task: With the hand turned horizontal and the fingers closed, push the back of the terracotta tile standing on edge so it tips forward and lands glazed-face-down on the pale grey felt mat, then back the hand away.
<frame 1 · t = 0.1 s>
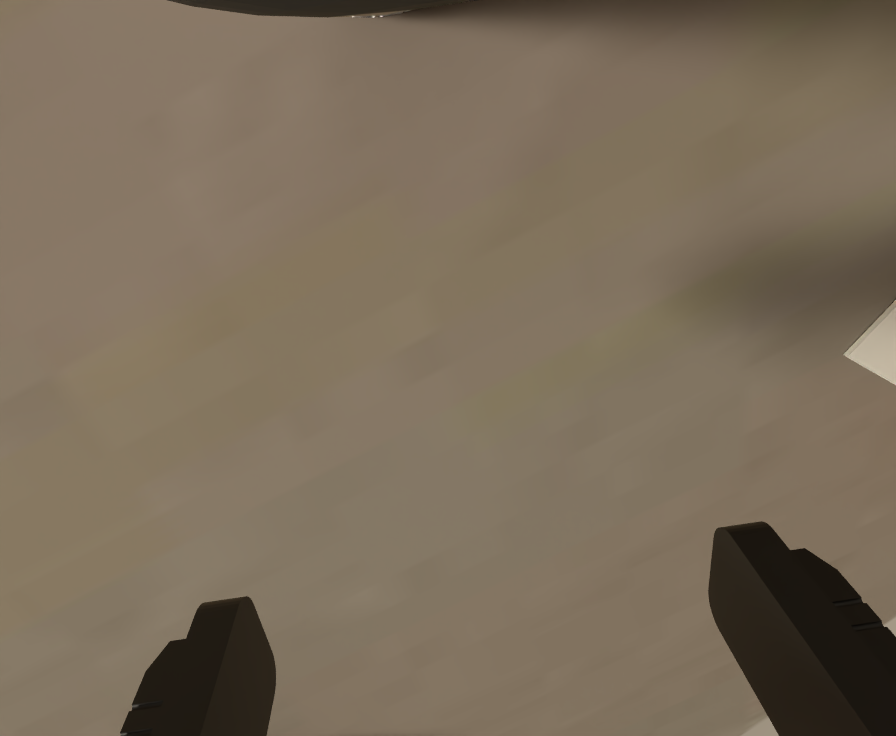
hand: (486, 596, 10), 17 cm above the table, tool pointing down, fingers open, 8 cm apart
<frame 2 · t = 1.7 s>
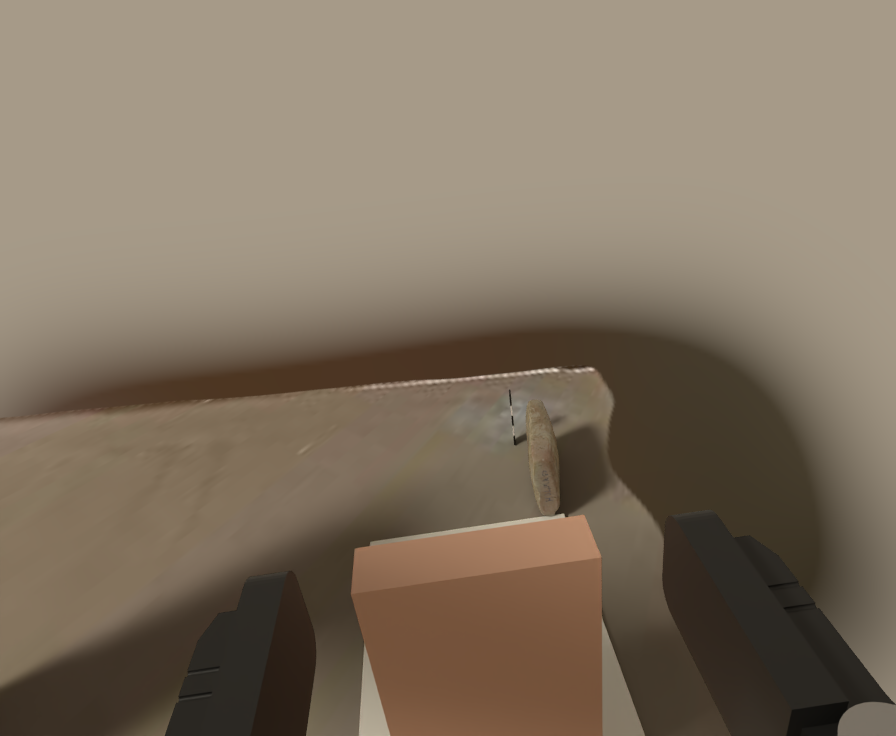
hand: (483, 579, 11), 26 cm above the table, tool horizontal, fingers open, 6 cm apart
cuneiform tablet: (535, 476, 54), on the table, touching mat
mat: (484, 646, 39), on the table
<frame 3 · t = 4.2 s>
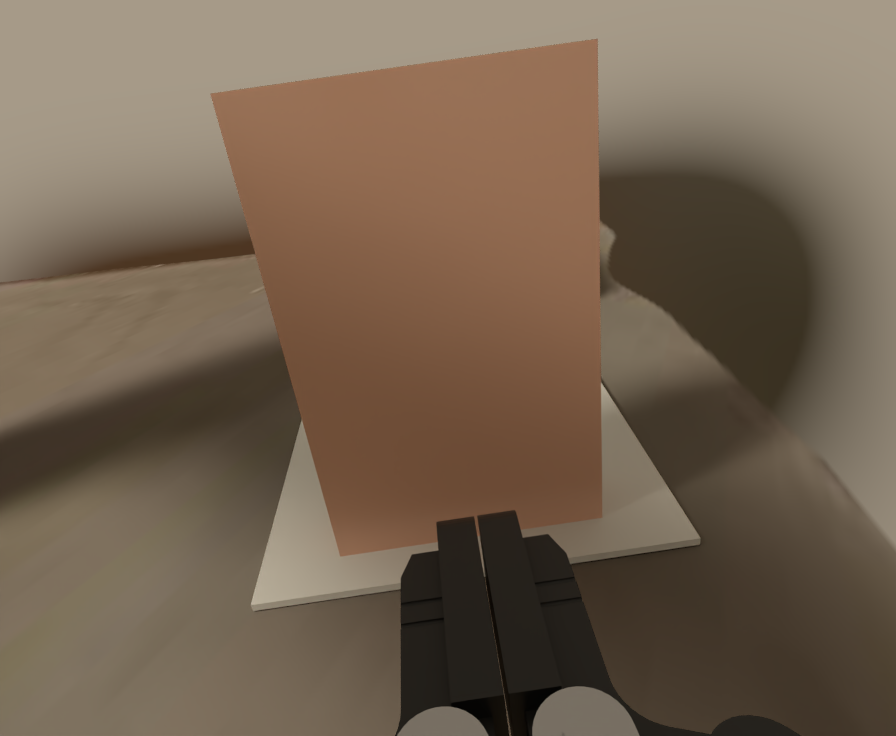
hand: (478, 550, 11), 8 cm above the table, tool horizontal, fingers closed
tile: (468, 514, 24), resting on mat
mat: (452, 415, 31), on the table
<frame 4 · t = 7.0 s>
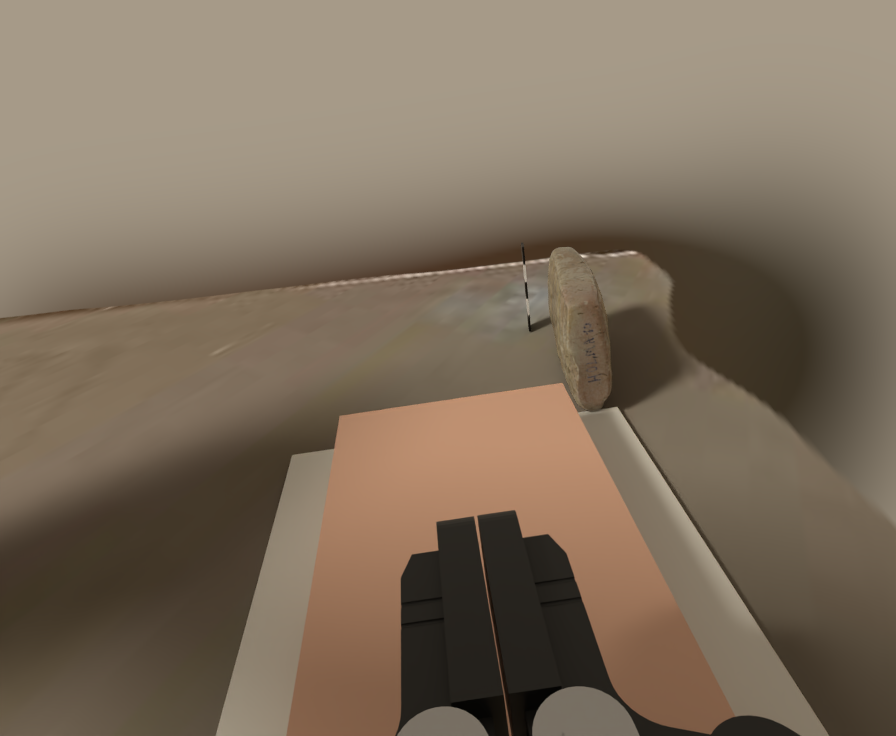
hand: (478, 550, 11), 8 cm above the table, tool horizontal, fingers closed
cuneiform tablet: (564, 364, 34), on the table, touching mat
mat: (484, 621, 20), on the table
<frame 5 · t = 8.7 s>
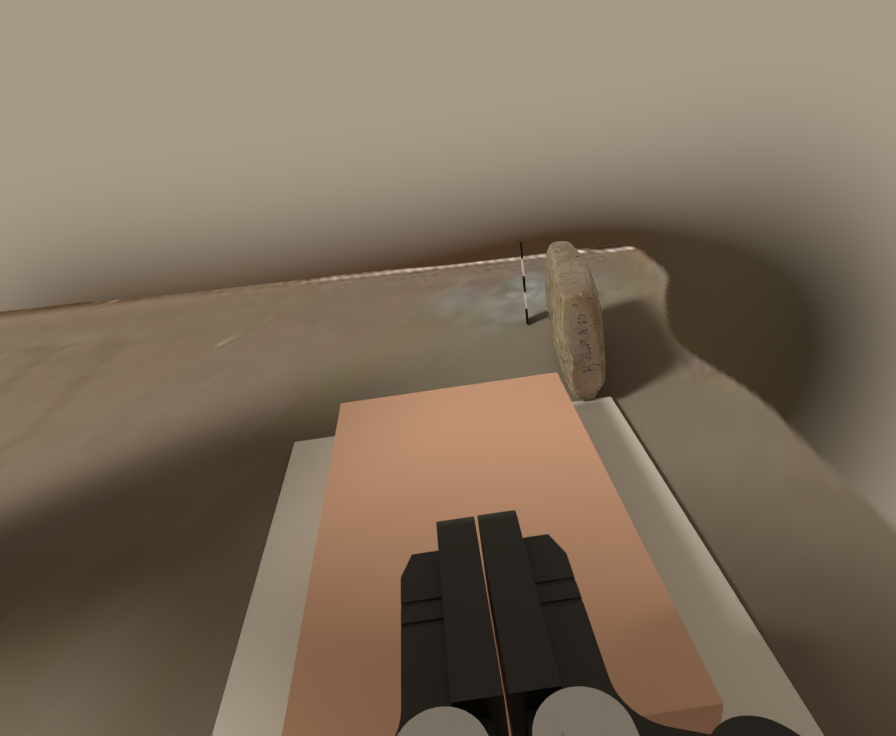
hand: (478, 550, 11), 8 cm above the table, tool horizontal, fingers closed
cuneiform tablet: (560, 356, 35), on the table, touching mat
mat: (478, 597, 20), on the table
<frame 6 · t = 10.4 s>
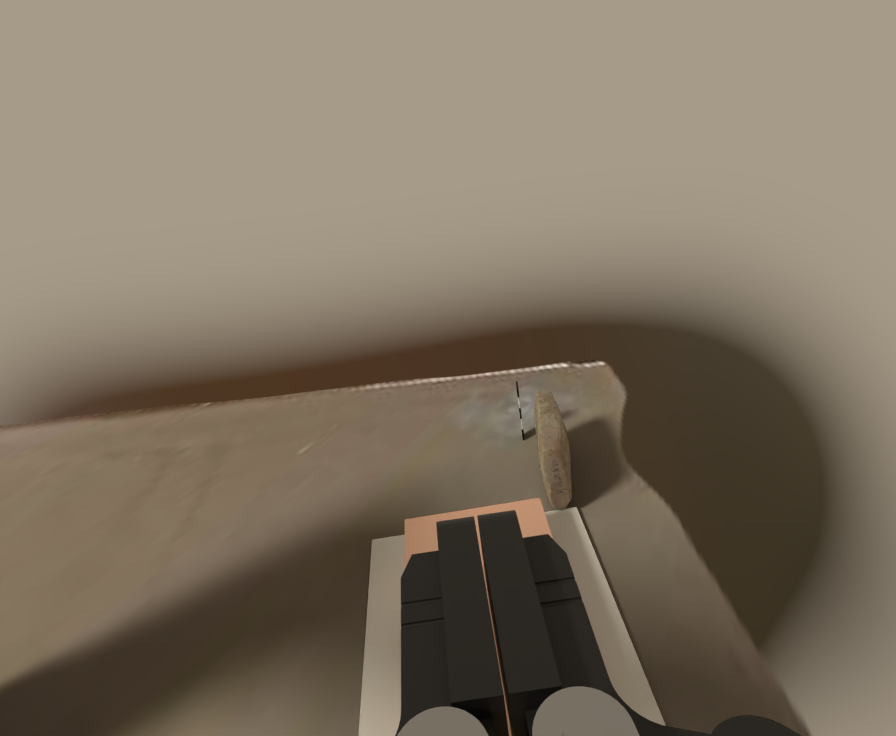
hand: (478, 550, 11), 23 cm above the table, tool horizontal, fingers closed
tile: (508, 733, 30), point 2 cm above the table, tilted 90°, touching mat
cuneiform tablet: (545, 470, 52), on the table, touching mat
mat: (494, 646, 37), on the table
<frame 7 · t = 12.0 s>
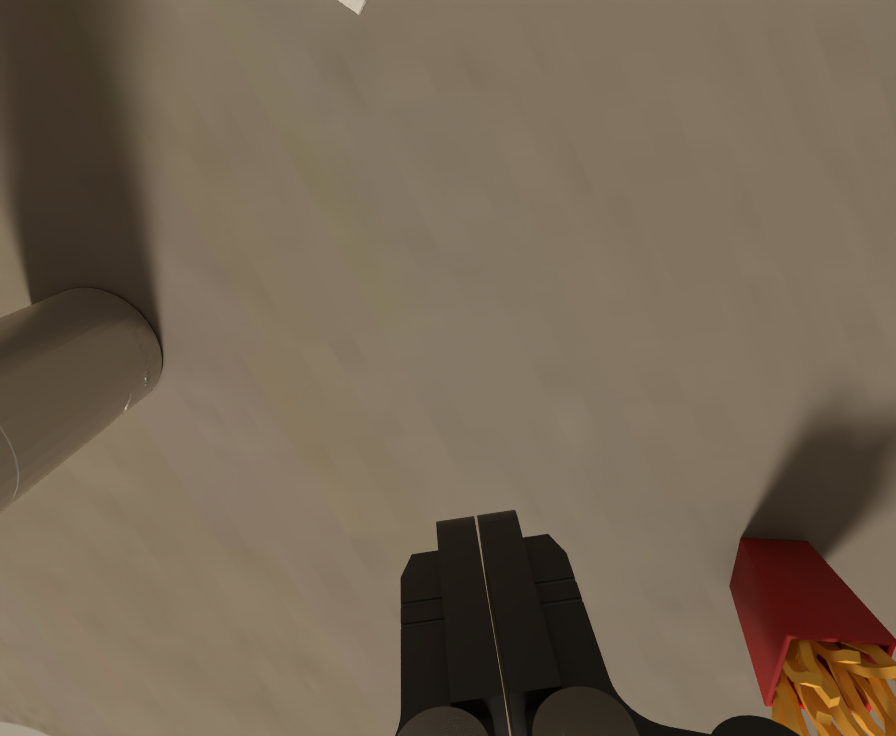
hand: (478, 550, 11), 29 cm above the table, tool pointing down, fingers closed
french fries: (773, 573, 47), on the table
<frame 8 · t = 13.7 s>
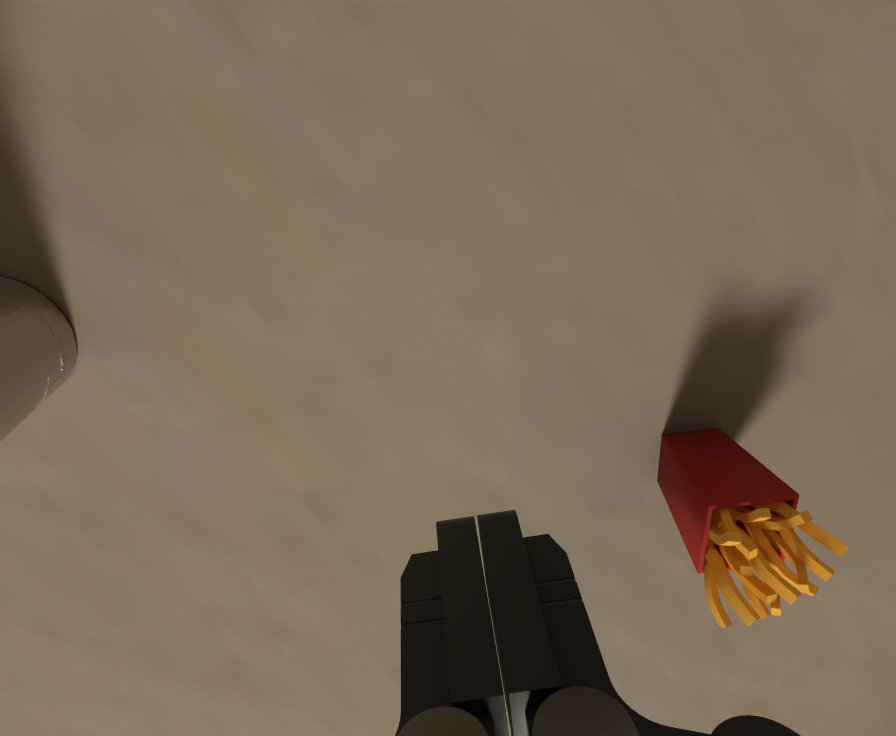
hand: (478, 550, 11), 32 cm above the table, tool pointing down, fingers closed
french fries: (693, 462, 52), on the table
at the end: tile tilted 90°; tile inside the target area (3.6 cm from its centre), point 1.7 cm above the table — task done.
